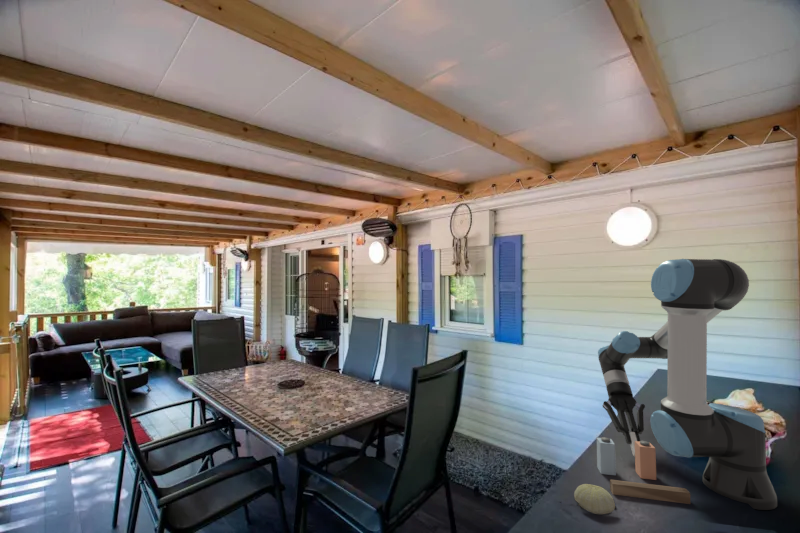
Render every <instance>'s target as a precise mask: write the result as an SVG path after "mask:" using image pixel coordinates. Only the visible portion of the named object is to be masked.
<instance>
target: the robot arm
mask: <svg viewBox="0 0 800 533" xmlns="http://www.w3.org/2000/svg"><path fill="white" fill-rule="evenodd" d="M652 273H653V274H652V276H651V280H650V288H651V291H652V293H653V296H654V297H655V299H657V300H658V301H660V306H661V308H662V309H663V310H664V311H666V313H667V321H666V322H665V323H664V324H663V325H662V326H661V327H659V329H658V330H657V331H656V332H655V333H654V334H653V335H651V336H638V335H636V334H635V333H633V332H630V331H627V330H621V331H619V332H618V333H617V334H616V335H615V337H613V338H612V341H611V343H609V345H608V344H607V345H604V346H602V347H600V348H599V349H598V351H597V355H598V361H599V364H600V369H601V373H602V376H603V379H604V384H605V387H606V392H607V396H608V399H607V401H603V404H602V408H603V409H605V411H606V412H607V414H608V416H609V418H610V420H611V421H612V424H613V426H614V428H615V430H616V432H617V433H622V435H623V436H624V439H625V443H626V444H627V445H630V446H629V447H630V449H631V452H632V456H633V457H635V441H641V437H640V435H642V434H643V432H644V431H645V427H644V426H645V424H644V410H645V408H646V405H645V404H644V403H638V402H637V399H635V397H634V395H633V390H632V389H631V385H630V382H629V379H628V374H627V372H626V369H625V365H626V364H627V363H628V362H629V361H630V359H662V360H666V359H667V371H666V372H667V375H666V376H667V390H666V393H667V395H666V396H665V397H664V398H662V399H661V400H660V409H657V410H655V411H653V412H652V414H651V415H650V427H651V431H652V433H653V436H654V437H655V439H656V441H657V443H658V444H659V446H660V447H661V448H662V449H663V450H664V451H665V452H667V453H668V454H670V455H672V456H675V457H685V458H703V457H704V458H708V461H707V463H706V466H705V468H704V471H703V474H702V478H701V479H702V482H703V484H704V486H706V487H707V488H708V489H709V490H711V491H713V492H714V493H716V494H719V495H721V496H722V497H725V498H728V499H730V500H733V501H737V502H740V503H744V504H748V505H749V506H750V507H751V508H752V509H753V510H760V511H768V510H769V511H770V510H774V509H777V507H778V496H777V493H776V490H775V488H774V486H773V483H772V482H771V480H770V476H769V475H768V472H767V453H766V451H767V450H766V448H767V447H766V445H767V444H766V433H767V432H766V430H765V423H764V419H763V418H762V417H761V416H760V414H759V415H758V414H757V413H754V412H752V411H749V410H746V409H743V408H739V407H736V406H732V405H727V404H723V403H715V402H714V403H713V402H711V403H709V404H708V403H707V391H708V390H707V386H708V385H707V376H708V375H707V372H708V371H707V367H708V366H707V365H708V364H707V363H708V362H707V359H708V357H707V355H708V353H707V352H708V351H707V350H708V349H707V348H708V346H707V345H708V344H707V343H708V341H707V340H708V339H707V338H708V337H707V336H708V332H707V331H708V328H707V327H708V325H707V324H708V323H709V322H710V321H712V320H713V319H714V318H715V317H717V316H718V315H719V314H720V313H721V312H723V311H724V312H725V311H729V310H732V309H733V308H735V306H737V305H738V304H740V302H741V301H742V300H743V299H744V298H745V297H746V295H747V293H748V292H749V286H750V279H749V277H748V275H747V273H746V271H745V270H744V269H743V268H742V267H741V266H740V265H738V264H737V263H735V262H733V261H730V260H726V259H720V258H715V259H713V258H712V259H708V258H707V259H706V258H705V259H704V258H703V259H702V258H701V259H700V258H699V259H698V258H697V259H695V258H692V259H691V258H679V259H678V258H677V259H668V260H664V261H663V262H661V263H660V264H659V265H658V267H656V268H655V269H654V272H652ZM634 408H635V409H636V411H637V412H636V413H637V414H636V415H637V416H636V417H637V418H636V419H637V420H636V419H635V416H634V412H633V409H634ZM614 409H615V410H616V412H617V415H618V416H617V415H616V413H615V410H614ZM618 417H619V418H618ZM626 417H627V418H626ZM627 421H628V422H627ZM628 424H629V425H628Z"/></svg>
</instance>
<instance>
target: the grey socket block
mask: <svg viewBox="0 0 800 533" xmlns="http://www.w3.org/2000/svg"><path fill="white" fill-rule="evenodd" d="M616 461H617V460H616V444H615V442H614V441H613V439H612V438H609V437H605V436H603V437H596V468H597V469H598V471H599V473H600V474H601V475H609V476H617V468H616V467H617V466H616V464H617V463H616Z"/></svg>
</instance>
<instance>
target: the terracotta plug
mask: <svg viewBox="0 0 800 533" xmlns="http://www.w3.org/2000/svg"><path fill="white" fill-rule="evenodd" d="M656 459H657V457H656V447H655V446H654V445H653V444H652V443H651V442H649V441H646V440H640V441H635V456H634V463H635V465H634V466H635V473H636V474H637V476H639V478H640V479H645V480H654V481H657V461H656Z"/></svg>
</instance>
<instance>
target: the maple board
mask: <svg viewBox="0 0 800 533" xmlns="http://www.w3.org/2000/svg"><path fill="white" fill-rule="evenodd" d="M609 491H611V493H612V495H614V496H615V495H617V496H622V497H623V496H625V497H631V498H639V499H647V500H655V501H661V502H662V501H664V502H671V503H680V504H685V505H686V504H687V505H691V492H690V491H689V490H688V489H687V488H686V487H685V488H684V487H678V486H670V485H669V486H668V485H661V484H652V483H644V482H635V481H626V480H617V479H609Z"/></svg>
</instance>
